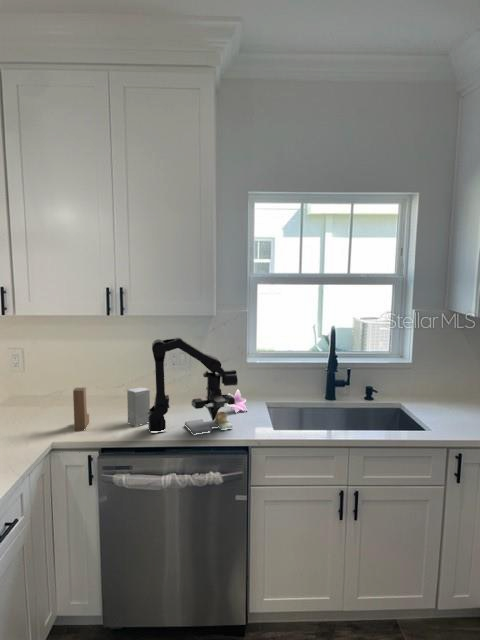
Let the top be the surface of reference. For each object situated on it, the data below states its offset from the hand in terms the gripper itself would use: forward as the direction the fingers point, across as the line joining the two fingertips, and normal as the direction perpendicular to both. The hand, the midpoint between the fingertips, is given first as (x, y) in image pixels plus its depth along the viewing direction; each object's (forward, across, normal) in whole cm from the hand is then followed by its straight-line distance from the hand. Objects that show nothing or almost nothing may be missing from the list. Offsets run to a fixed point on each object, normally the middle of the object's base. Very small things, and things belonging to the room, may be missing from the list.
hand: (213, 420), depth 194 cm
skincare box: (+4, -29, +18) cm, 34 cm away
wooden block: (+4, -53, +22) cm, 58 cm away
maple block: (+1, +4, 0) cm, 4 cm away
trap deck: (+3, -2, 0) cm, 4 cm away
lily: (+3, +18, +15) cm, 24 cm away
